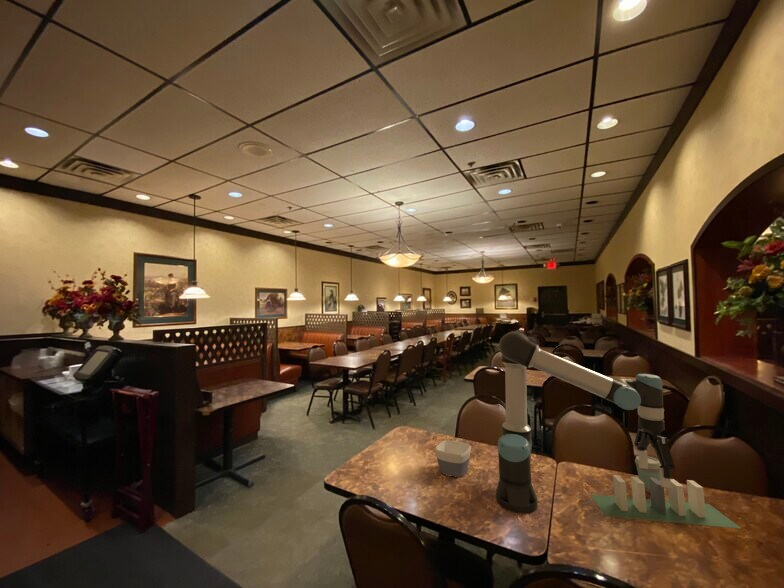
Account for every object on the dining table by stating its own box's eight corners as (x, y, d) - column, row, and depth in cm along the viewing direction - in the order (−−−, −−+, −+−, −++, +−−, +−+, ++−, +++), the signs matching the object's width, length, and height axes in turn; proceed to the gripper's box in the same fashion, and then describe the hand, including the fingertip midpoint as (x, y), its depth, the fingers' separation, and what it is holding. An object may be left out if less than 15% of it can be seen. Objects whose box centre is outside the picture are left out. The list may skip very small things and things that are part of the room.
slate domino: (659, 513, 113) (657, 484, 114) (651, 505, 118) (649, 477, 119) (666, 514, 113) (663, 484, 113) (657, 506, 117) (655, 477, 118)
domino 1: (621, 510, 115) (619, 481, 116) (614, 502, 120) (612, 475, 121) (627, 511, 115) (625, 482, 116) (620, 503, 120) (618, 475, 121)
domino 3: (679, 515, 112) (676, 485, 112) (670, 507, 117) (667, 478, 117) (685, 516, 111) (683, 486, 112) (676, 507, 116) (673, 479, 117)
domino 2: (640, 512, 114) (638, 483, 115) (632, 504, 119) (630, 476, 120) (646, 512, 114) (644, 483, 115) (638, 504, 119) (636, 476, 119)
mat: (605, 517, 112) (605, 516, 112) (589, 495, 126) (589, 494, 126) (741, 529, 104) (741, 528, 104) (709, 505, 118) (708, 503, 118)
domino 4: (699, 517, 111) (696, 487, 111) (689, 508, 115) (686, 480, 116) (706, 517, 110) (703, 487, 111) (695, 509, 115) (692, 480, 116)
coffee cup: (669, 496, 124) (666, 464, 125) (644, 495, 125) (641, 463, 126) (655, 485, 132) (653, 455, 133) (632, 483, 134) (630, 454, 135)
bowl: (475, 468, 151) (474, 444, 152) (464, 483, 138) (463, 456, 139) (445, 461, 159) (444, 438, 160) (431, 474, 146) (431, 449, 147)
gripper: (686, 430, 105) (690, 497, 103) (643, 408, 129) (646, 462, 128) (660, 428, 106) (663, 494, 105) (622, 407, 131) (625, 460, 129)
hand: (654, 477), depth 116 cm, fingers open, 13 cm apart
